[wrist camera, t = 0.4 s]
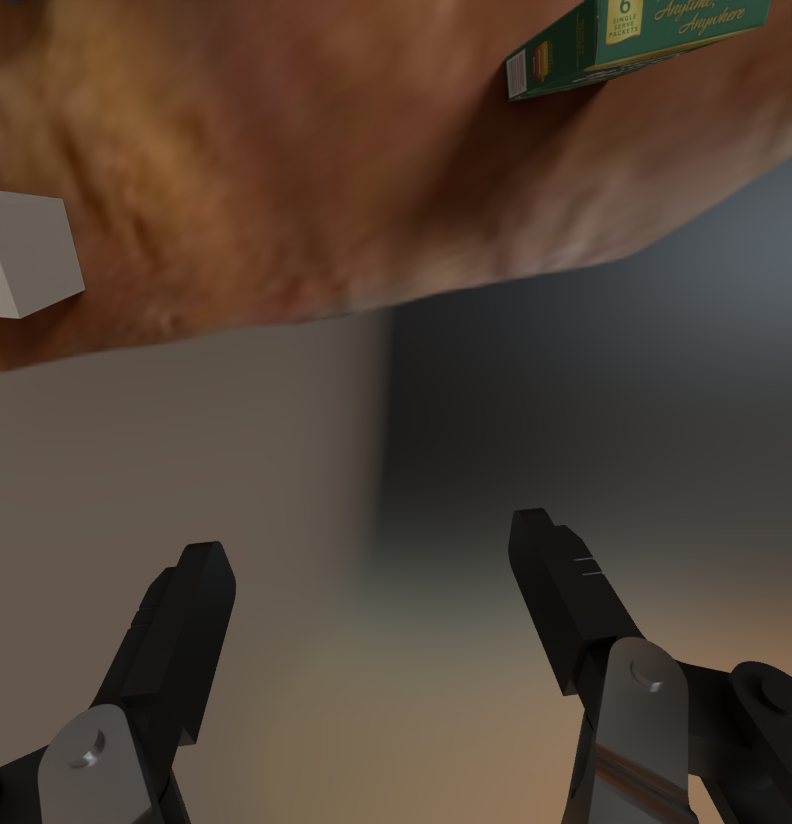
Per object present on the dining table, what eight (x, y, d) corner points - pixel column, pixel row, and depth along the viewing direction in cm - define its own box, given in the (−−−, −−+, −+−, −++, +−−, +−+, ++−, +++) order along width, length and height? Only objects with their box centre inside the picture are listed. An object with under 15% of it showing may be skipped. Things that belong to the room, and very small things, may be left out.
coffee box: (501, 108, 29) (595, 69, 18) (499, 57, 28) (600, -21, 16) (610, 83, 29) (773, 28, 18) (614, 30, 28) (794, -66, 16)
